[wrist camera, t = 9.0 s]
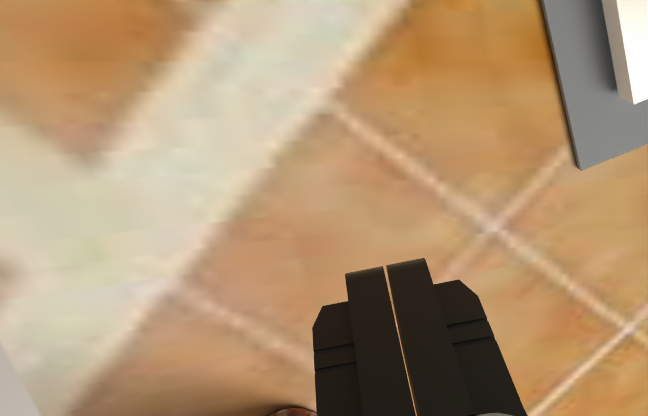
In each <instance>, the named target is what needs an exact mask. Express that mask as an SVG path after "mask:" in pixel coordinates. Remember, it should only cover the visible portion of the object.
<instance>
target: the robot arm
mask: <svg viewBox="0 0 648 416" xmlns="http://www.w3.org/2000/svg"><path fill="white" fill-rule="evenodd" d="M386 267H387V273H388V278H389V283H390V288H391V293H392V299H393V304H394V309H395V314H396V320H397V325H398V330H399V335H400V340H401V344H402V349H403V354H404V359H405V363H406V368H407V372H408V377H409V381H410V386H411V390H412V395H413V399H414V404H415V408H416V413H417V416H528V415H527V414H526V412H525V410H524V408H523V406H522V403H521V401H520V398H519V396H518V393H517V391H516V388H515V386H514V383H513V381H512V378H511V376H510V374H509V371H508V369H507V366H506V364H505V361H504V359H503V356H502V354H501V351H500V349H499V346H498V344H497V342H496V340H495V338H494V334H493V332H492V329H491V327H490V324H489V322H488V321H487V317H486V315H485V312H484V310H483V307H482V305H481V302H480V300H479V297H478V296H477V295H476V294H475V293H474V292H473V291H472V290H470V289H469V288H468V287H467V286H466V285H465V284H463V283H462V282H461V281H460V280H454V281H449V282H444V283H439V284H434V285H433V282H432V279H431V276H430V272H429V269H428V266H427V263H426V260H425V258H421V259H416V260H411V261H406V262H401V263H396V264H391V265H386ZM345 278H346V286H347V293H348V301H347V302H341V303H336V304H331V305H326V306H322V308H321V310H320V313H319V315H318V317H317V319H316V321H315V323H314V326H313V328H312V329H313V348H314V368H315V387H316V406H317V416H416V415H415V410H414V406H413V401H412V397H411V392H410V387H409V383H408V378H407V374H406V369H405V365H404V360H403V355H402V351H401V346H400V342H399V337H398V333H397V328H396V324H395V319H394V314H393V310H392V305H391V301H390V296H389V292H388V287H387V282H386V278H385V273H384V269H383V266H381V267H376V268H371V269H366V270H361V271H356V272H351V273H346V274H345Z"/></svg>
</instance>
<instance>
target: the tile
mask: <svg viewBox="0 0 648 416" xmlns="http://www.w3.org/2000/svg"><path fill="white" fill-rule="evenodd" d="M602 5H603V11H604V16H605V22H606V28H607V33H608V39H609V44H610V50H611V56H612V61H613V67H614V72H615V78H616V83H617V89H618V95H619V98H621V99H624V100H626V101H628V102H630V103H632V104H636V103H639V102H641V101H644V100H646V99H648V0H602Z"/></svg>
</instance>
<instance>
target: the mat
mask: <svg viewBox="0 0 648 416" xmlns="http://www.w3.org/2000/svg"><path fill="white" fill-rule="evenodd" d="M541 4H542V8H543V13H544V17H545V22H546V26H547V31H548V35H549V40H550V44H551V49H552V53H553V58H554V62H555V67H556V71H557V76H558V80H559V85H560V89H561V94H562V98H563V103H564V107H565V112H566V116H567V121H568V125H569V130H570V134H571V139H572V143H573V148H574V152H575V157H576V161H577V166H578V169H580V170H581V171H582V170H584V169H587V168H589V167H591V166H594V165H596V164H599V163H601V162H604V161H606V160H609V159H611V158H614V157H616V156H619V155H621V154H624V153H626V152H629V151H631V150H634V149H636V148H639V147H641V146H644V145H646V144H648V99H646V100H644V101H641V102H639V103H636V104H632V103H630V102H628V101H626V100H624V99H621V98H619V95H618V89H617V83H616V78H615V72H614V67H613V61H612V56H611V50H610V44H609V39H608V33H607V28H606V22H605V16H604V11H603V5H602V0H541Z"/></svg>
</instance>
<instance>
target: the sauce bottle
mask: <svg viewBox="0 0 648 416" xmlns="http://www.w3.org/2000/svg"><path fill="white" fill-rule="evenodd" d="M268 416H317V413H316V412H311V411H309V410H306V409H303V408H288V409H282V410H280V411H276V412H274V413H272V414H270V415H268Z"/></svg>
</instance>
